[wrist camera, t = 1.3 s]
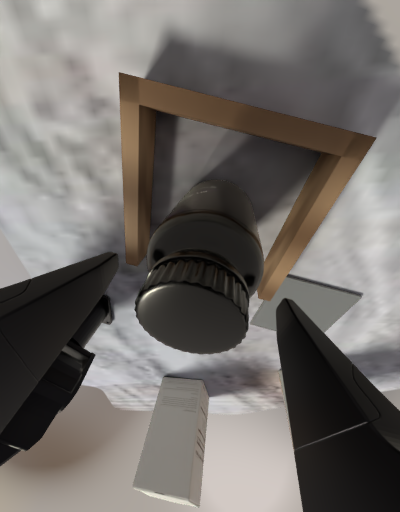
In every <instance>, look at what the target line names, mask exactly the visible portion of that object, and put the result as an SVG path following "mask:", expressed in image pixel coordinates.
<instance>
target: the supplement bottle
mask: <svg viewBox="0 0 400 512" xmlns="http://www.w3.org/2000/svg"><path fill="white" fill-rule="evenodd" d="M146 260H147V268H148V272H149V274H148V276H147V279H146V281H145V283H144V284H143V286H142V288H141V289H140V291H139V293H138V297H137V298H136V301H135V305H136V307H135V311H136V313H137V314H136V317H137V318H138V320H139V323H140V324H141V325H142V326H143V328H144V330H145V331H147V332H148V333H149V334H150V335H151V336H152V337H154V338H155V339H156V340H157V341H160V342H162V343H163V344H165V345H167V346H170V347H172V348H174V349H178V350H181V351H183V352H189V353H198V354H213V353H221V352H223V351H228V350H229V349H231V348H235V347H236V345H237V344H240V343H241V341H242V339H244V338H245V337H246V332H247V331H248V321H249V315H248V307H249V298H250V297H251V296H252V295H253V294H254V293H255V291H256V290H257V288H258V287H259V285H260V283H261V280H262V277H263V273H264V258H263V252H262V247H261V243H260V238H259V234H258V229H257V225H256V220H255V216H254V211H253V208H252V204H251V202H250V200H249V198H248V196H247V195H246V194H245V192H244V191H243V190H242V189H241V188H239V187H238V186H237V185H235V184H233V183H231V182H228V181H225V180H217V179H215V180H207V181H204V182H201V183H199V184H197V185H196V186H194V187H193V188H192V189H191V190H190V191H189V192H188V193H187V194H186V195H185V196H184V197H183V198H182V199H181V201H180V202H179V203H178V204H177V205H176V207H175V208H174V209H173V210H172V211H171V213H170V214H169V215H168V216H167V217H166V218H165V220H164V221H163V222H162V223H161V224H160V226H159V227H158V228H157V229H156V231H155V232H154V234H153V235H152V237H151V239H150V241H149V244H148V248H147V255H146Z"/></svg>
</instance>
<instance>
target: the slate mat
mask: <svg viewBox="0 0 400 512" xmlns="http://www.w3.org/2000/svg"><path fill="white" fill-rule="evenodd" d="M283 298H288V299H292V300H293V301H294V302H295V303H296V304H297V305H298V306H299V307H300V308H301V309H302V310H303V311H304V312H305V313H306V315H307V316H308V317H309V318H310V319H311V320H312V321H313V322H314V323H315V324H316V325H317V326H318V327H319V328H320V329H321V330H322V331H323V333H324V332H325V331H326V330H327V329H328V328H330V327H331V326H332V325H333V324H334V323H335V322H336V321H337V320H338V319H339V318H340V317H341V316H342V315H344V314H345V313H346V312H347V311H348V310H349V309H350V308H351V307H352V306H353V305H354V304H355V303H356V302H357V301H359V300H360V299H361V298H362V296H361V295H358V294H354V293H350V292H346V291H343V290H339V289H335V288H331V287H327V286H324V285H320V284H316V283H312V282H308V281H305V280H301V279H297V278H293V277H289V276H286V278H285V279H284V281H283V282H282V284H281V285H280V287H279V289H278V290H277V292H276V293H275V295H274V296H273V298H272V299H271V301H267V300H264V301H263V303H262V304H261V306H260V307H259V309H258V311H257V312H256V314H255V316H254V317H253V319H252V320H251V322H250V324H251V325H255V326H258V327H262V328H266V329H270V330H274V331H277V330H276V308H277V306H278V305H279V304H280V302H281V301H282V299H283Z"/></svg>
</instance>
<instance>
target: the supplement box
mask: <svg viewBox="0 0 400 512" xmlns="http://www.w3.org/2000/svg"><path fill="white" fill-rule="evenodd" d="M208 405H209V396H208V393H207V391H206V388H205V385H204V382H203V380H195V379H183V378H171V377H163V379H162V383H161V386H160V390H159V393H158V397H157V400H156V404H155V408H154V411H153V415H152V418H151V422H150V425H149V429H148V433H147V436H146V440H145V443H144V447H143V450H142V454H141V457H140V461H139V465H138V468H137V472H136V475H135V479H134V482H133V486H132V488H133V489H136V490H139V491H141V492H143V493H145V494H146V495H148V496H152V497H155V498H159V499H163V500H167V501H171V502H175V503H179V504H184V505H189V506H194V507H199V506H200V496H201V485H202V474H203V462H204V450H205V438H206V427H207V416H208Z"/></svg>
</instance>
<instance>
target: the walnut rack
mask: <svg viewBox="0 0 400 512" xmlns="http://www.w3.org/2000/svg"><path fill="white" fill-rule="evenodd" d="M119 91H120V117H121V144H122V170H123V196H124V223H125V249H126V263H127V264H131V265H134V266H138V265H139V264H140V262H141V261H142V260H143V258H144V257H145V256H146V254H147V248H148V244H149V241H150V222H151V203H152V184H153V165H154V146H155V127H156V111H160V112H164V113H168V114H172V115H176V116H180V117H184V118H187V119H191V120H195V121H199V122H203V123H207V124H211V125H215V126H219V127H223V128H227V129H230V130H234V131H238V132H242V133H246V134H250V135H254V136H258V137H262V138H266V139H270V140H273V141H277V142H281V143H285V144H289V145H293V146H297V147H301V148H305V149H309V150H313V151H316V152H320V153H321V154H320V156H319V158H318V160H317V162H316V164H315V166H314V168H313V170H312V172H311V174H310V175H309V177H308V179H307V181H306V183H305V185H304V187H303V189H302V191H301V193H300V195H299V197H298V198H297V200H296V202H295V204H294V206H293V208H292V210H291V212H290V214H289V216H288V218H287V219H286V221H285V223H284V225H283V227H282V229H281V231H280V233H279V235H278V237H277V239H276V240H275V242H274V244H273V246H272V248H271V250H270V252H269V254H268V256H267V258H266V260H265V261H264V273H263V277H262V280H261V283H260V285H259V287H258V288H257V292H258V298H259V299H263V300H267V301H271V299H272V298H273V296H274V295H275V293H276V292H277V290H278V289H279V287H280V285H281V284H282V282H283V281H284V279H285V278H286V276H287V275H288V273H289V272H290V270H291V269H292V267H293V265H294V264H295V262H296V261H297V259H298V258H299V256H300V255H301V253H302V252H303V250H304V249H305V247H306V246H307V244H308V242H309V241H310V239H311V238H312V236H313V235H314V233H315V232H316V230H317V229H318V227H319V226H320V224H321V222H322V221H323V219H324V218H325V216H326V215H327V213H328V212H329V210H330V209H331V207H332V206H333V204H334V203H335V201H336V199H337V198H338V196H339V195H340V193H341V192H342V190H343V189H344V187H345V186H346V184H347V183H348V181H349V179H350V178H351V176H352V175H353V173H354V172H355V170H356V169H357V167H358V166H359V164H360V163H361V161H362V160H363V158H364V156H365V155H366V153H367V152H368V150H369V149H370V147H371V146H372V144H373V143H374V141H375V140H376V137H372V136H368V135H364V134H360V133H356V132H352V131H348V130H344V129H340V128H336V127H332V126H328V125H324V124H320V123H317V122H313V121H309V120H305V119H301V118H297V117H293V116H289V115H285V114H281V113H277V112H273V111H269V110H265V109H261V108H258V107H254V106H250V105H246V104H242V103H238V102H234V101H230V100H226V99H222V98H218V97H214V96H210V95H206V94H202V93H199V92H195V91H191V90H187V89H183V88H179V87H175V86H171V85H167V84H163V83H159V82H155V81H151V80H147V79H143V78H140V77H136V76H132V75H128V74H124V73H120V72H119Z"/></svg>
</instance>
